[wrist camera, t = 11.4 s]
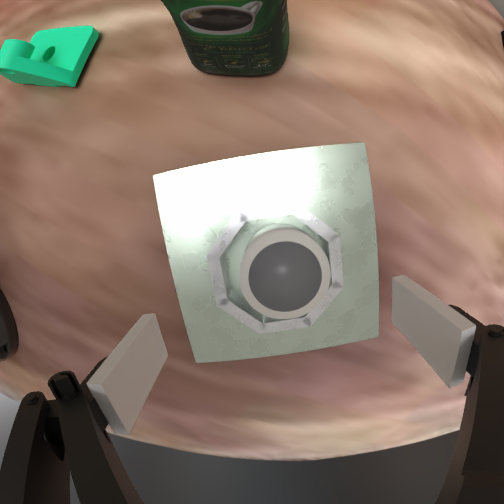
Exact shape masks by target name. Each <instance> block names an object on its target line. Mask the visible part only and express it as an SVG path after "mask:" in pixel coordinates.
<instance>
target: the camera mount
mask: <svg viewBox="0 0 504 504" xmlns="http://www.w3.org/2000/svg"><path fill="white" fill-rule="evenodd" d="M98 37H99V32H98V31H97V30H96V29H94V28H93V27H92V26H77V27H65V28H56V29H48V30H41V31H38V32H37V33H36V34H35V35H34V36H33V37H32V39H31V41H30V43H28V42H25V41H22V40H17V39H8V40H5V42H4V44H3V46H2V48H1V50H0V74H1V75H2V76H4V77H6V78H7V79H9V80H11V81H12V82H16V83H19V84H35V85H38V86H54V87H60V86H70V87H75V85H76V83H77V80H78V78H79V76H80V74H81V71H82V69H83V67H84V65H85V63H86V60H87V58H88V56H89V54H90V52H91V50H92V48H93V46H94V44H95V42H96V41H97V39H98Z"/></svg>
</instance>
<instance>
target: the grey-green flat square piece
mask: <svg viewBox="0 0 504 504" xmlns="http://www.w3.org/2000/svg"><path fill="white" fill-rule="evenodd" d="M153 179H154V186H155V192H156V197H157V203H158V209H159V214H160V219H161V224H162V229H163V234H164V239H165V244H166V249H167V253H168V258H169V262H170V267H171V271H172V275H173V280H174V284H175V288H176V292H177V296H178V300H179V304H180V308H181V312H182V315H183V319H184V323H185V326H186V330H187V334H188V337H189V341H190V344H191V347H192V351H193V354H194V357H195V361H196V363H205V362H219V361H231V360H241V359H251V358H260V357H268V356H276V355H283V354H290V353H297V352H303V351H309V350H315V349H321V348H327V347H332V346H337V345H342V344H347V343H352V342H357V341H362V340H366V339H371V338H375V337H378V336H379V273H378V251H377V236H376V224H375V213H374V203H373V195H372V187H371V179H370V172H369V165H368V159H367V153H366V147H365V142H362V143H348V144H336V145H325V146H315V147H306V148H298V149H290V150H282V151H275V152H268V153H261V154H255V155H249V156H243V157H237V158H231V159H226V160H220V161H215V162H210V163H205V164H200V165H195V166H191V167H186V168H182V169H177V170H173V171H169V172H164V173H160V174H156V175H153ZM274 224H290V225H294V226H297V227H299V228H301V229H302V230H304V231H305V232H306V233H307V234H309V236H310V237H311V238H312V239H313V240H314V241H315V242H316V243H317V244H318V245H319V246H320V247H321V248H322V250H323V251H324V253H325V254H326V257H327V259H328V261H329V265H330V271H331V278H330V284H329V288H328V290H327V293H326V295H325V296H324V298H323V300H322V301H321V302H320V303H319V304H318V306H317V307H315V308H314V309H313V310H312V311H310V312H309V313H307V314H305V315H303V316H300V317H297V318H293V319H274V318H270V317H267V316H265V315H263V314H261V313H259V312H258V311H256V310H255V309H254V308H253V307H252V306H251V305H250V304H249V303H248V302H247V300H246V299H245V297H244V295H243V293H242V290H241V287H240V281H239V272H240V267H241V263H242V260H243V256H244V253H245V249H246V247H247V245H248V243H249V241H250V240H251V238H252V237H253V236H254V235H255V234H256V233H257V232H258V231H260V230H261V229H263V228H265V227H267V226H270V225H274Z"/></svg>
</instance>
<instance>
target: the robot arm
mask: <svg viewBox="0 0 504 504" xmlns="http://www.w3.org/2000/svg"><path fill="white" fill-rule="evenodd" d="M391 322H392V323H393V324H394V325H395V326H396V327H397V328H398V330H399V331H400V332H401V333H402V334H403V335H404V336H405V337H406V338H407V340H408V341H409V342H410V343H411V344H412V345H413V346H414V347H415V349H416V350H417V351H418V352H419V353H420V354H421V355H422V357H423V358H424V359H425V360H426V361H427V362H428V364H429V365H430V366H431V367H432V368H433V369H434V371H435V372H436V373H437V374H438V375H439V377H440V378H441V379H442V380H443V381H444V383H445V384H446V385H447V386H448V387H449V388H451V387H453V386H456V385H458V384H460V383H462V382H463V380H464V377H465V373H466V371H467V372H468V373H469V374H470V375H471V377H470V380H469V383H468V387H467V390H466V393H465V396H467V397H466V403H465V408H464V413H463V418H462V422H461V427H460V431H459V435H458V439H457V443H456V446H455V450H454V453H453V456H452V460H451V463H450V466H449V469H448V472H447V475H446V478H445V480H444V483H443V486H442V488H441V491H440V494H439V496H438V499H437V501H436V503H435V504H504V327H503V326H500V325H495V324H494V325H487V326H484V325H483V324H482V323H480V322H479V321H478V320H476V319H475V318H473V317H472V316H470V315H469V314H468V313H465V311H463V310H462V309H461V308H459V307H456V306H453V305H447V304H446V303H444V302H443V301H442V300H440V299H439V298H437V297H436V296H434V295H433V294H432V293H430V292H429V291H427V290H426V289H424V288H423V287H421V286H420V285H418V284H417V283H415V282H414V281H412V280H411V279H409V278H408V277H406V276H405V275H400V276H395V277H392V318H391ZM17 346H18V336H17V330H16V326H15V322H14V319H13V316H12V313H11V311H10V308H9V306H8V304H7V301H6V300H5V298H4V296H3V294H2V292H1V291H0V362H1V361H5V360H7V359H8V358H9V357H11V356H12V355H13V354H14V353H15V352H16V350H17ZM167 357H168V353H167V350H166V347H165V344H164V341H163V337H162V334H161V331H160V328H159V325H158V321H157V318H156V315H155V313H152V314H143V315H142V316H141V317H140V319H139V320H138V321H137V322H136V323H135V324H134V326H133V327H132V328H131V329H130V330H129V332H128V333H127V334H126V335H125V336H124V338H123V339H122V340H121V341H120V342H119V344H118V345H117V346H116V347H115V349H114V350H113V351H112V352H111V353H110V355H109V356H108V357H105V358H104V359H103V360H101V361H100V362H98V364H97V365H96V366H95V367H94V369H93V370H92V371H91V372H90V374H89V375H88V376H87V377H86V378H85V380H84V381H83V382H82V383H81V384H79V382H78V380H77V378H76V376H75V374H74V373H73V372H71V371H62V372H59V373H57V374H55V375H53V376H52V377H51V378H50V379H49V380H48V386H49V387H50V389H51V391H52V393H53V395H54V396H55V398H56V400H47V399H46V398H45V396H44V394H43V393H42V392H39V391H37V392H31V393H29V394H27V395H26V396H25V397H24V398H23V399H22V401H21V404H20V406H19V409H18V412H17V415H16V418H15V421H14V424H13V427H12V430H11V433H10V436H9V440H8V443H7V447H6V450H5V453H4V457H3V462H2V465H1V470H0V504H70V471H71V475H72V478H73V481H74V485H75V488H76V491H77V494H78V497H79V500H80V503H81V504H144V503H143V501H142V499H141V498H140V496H139V494H138V493H137V491H136V489H135V487H134V485H133V484H132V482H131V480H130V478H129V476H128V474H127V473H126V470H125V469H124V467H123V465H122V463H121V461H120V459H119V456H118V454H117V452H116V450H115V448H114V446H113V444H112V441H111V439H110V437H109V435H108V433H107V431H106V430H105V429H106V427H107V425H108V423H109V425H110V427H111V428H112V430H113V431H114V433H119V434H127V435H129V434H130V432H131V430H132V428H133V426H134V424H135V422H136V420H137V417H138V415H139V413H140V411H141V409H142V407H143V405H144V403H145V401H146V399H147V397H148V395H149V393H150V391H151V389H152V387H153V385H154V383H155V381H156V379H157V377H158V375H159V373H160V371H161V369H162V367H163V365H164V363H165V361H166V359H167Z"/></svg>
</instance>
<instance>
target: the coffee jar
mask: <svg viewBox="0 0 504 504" xmlns="http://www.w3.org/2000/svg"><path fill="white" fill-rule="evenodd" d="M161 1H162V2H163V3H164V5H165V6H166V7H167V9H168V10H169V12H170V14H171V16H172V18H173V20H174V22H175V24H176V26H177V28H178V31H179V33H180V36H181V38H182V41H183V44H184V47H185V49H186V52H187V54H188V56H189V58H190V60H191V62H192V64H193V65H194V66H195V67H196V68H197V69H199V70H201V71H203V72H206V73H212V74H221V75H236V76H255V75H266V74H270V73H272V72H274V71H276V70H278V69H279V68H280V67H281V66H282V65H283V63H284V61H285V59H286V56H287V51H288V44H289V23H288V13H287V0H161Z"/></svg>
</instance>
